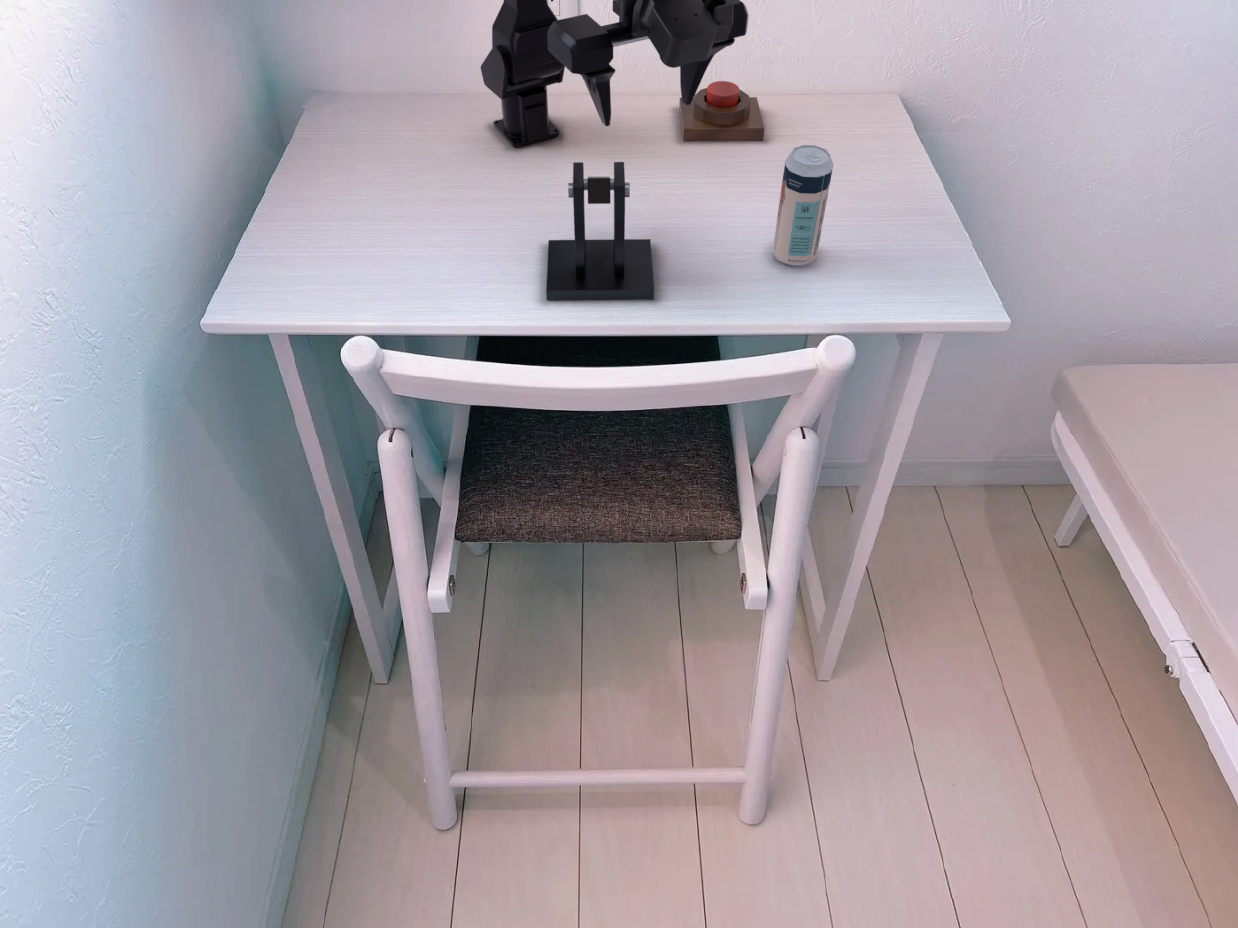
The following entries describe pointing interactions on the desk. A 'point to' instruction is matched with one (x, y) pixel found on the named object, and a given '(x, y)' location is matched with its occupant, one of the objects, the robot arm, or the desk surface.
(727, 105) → the button
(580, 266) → the bracket
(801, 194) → the beer can
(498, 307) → the desk surface
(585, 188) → the lever
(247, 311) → the desk surface
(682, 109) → the button block
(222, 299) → the desk surface
